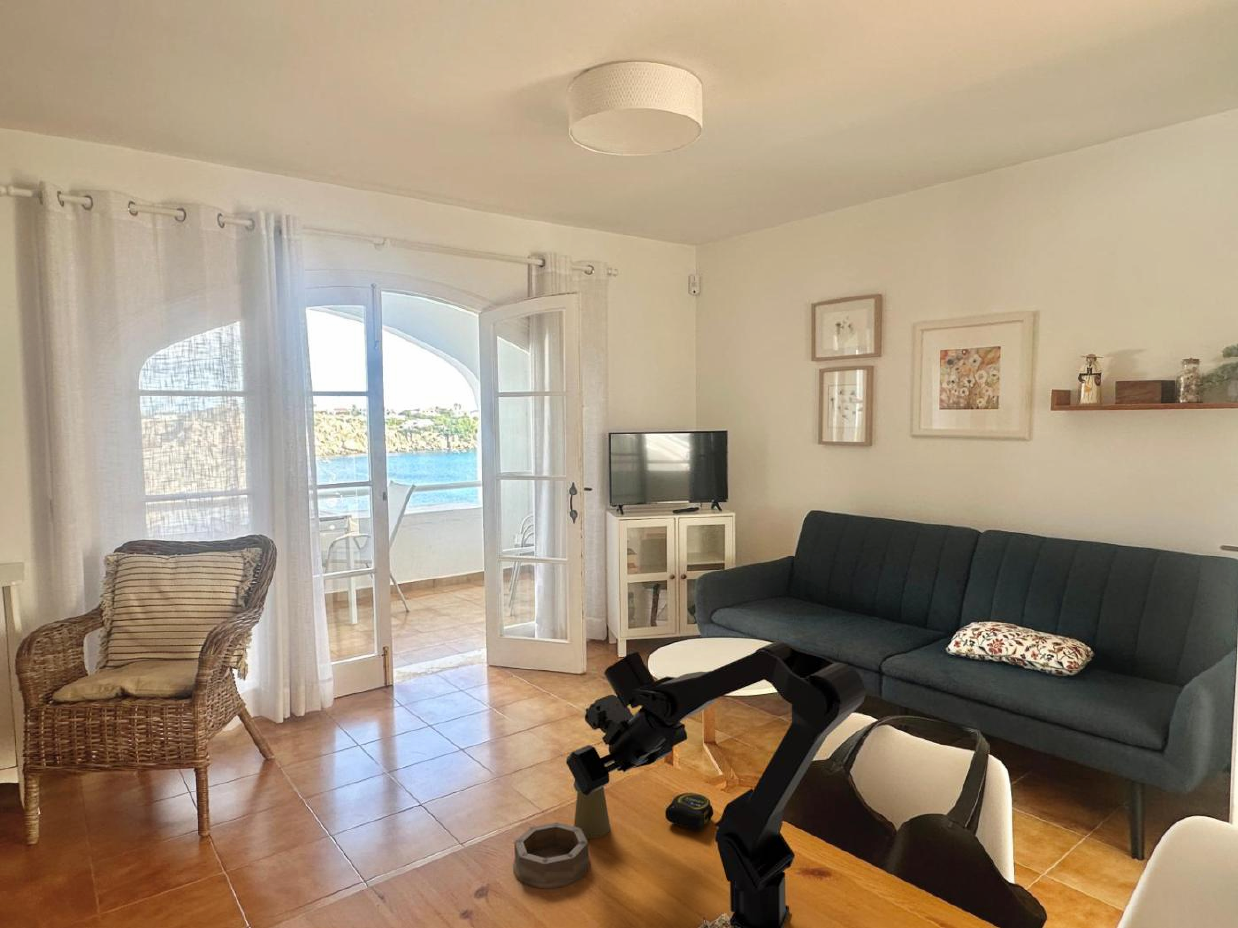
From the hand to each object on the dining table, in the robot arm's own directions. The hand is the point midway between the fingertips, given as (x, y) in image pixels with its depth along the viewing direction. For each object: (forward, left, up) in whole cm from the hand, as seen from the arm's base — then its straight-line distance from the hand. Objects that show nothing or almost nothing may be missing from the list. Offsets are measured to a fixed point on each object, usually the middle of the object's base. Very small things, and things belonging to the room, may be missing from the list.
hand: (596, 777), depth 123 cm
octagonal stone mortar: (+2, +11, -9) cm, 14 cm away
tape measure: (-13, -8, -9) cm, 18 cm away
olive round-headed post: (+2, 0, -9) cm, 9 cm away
